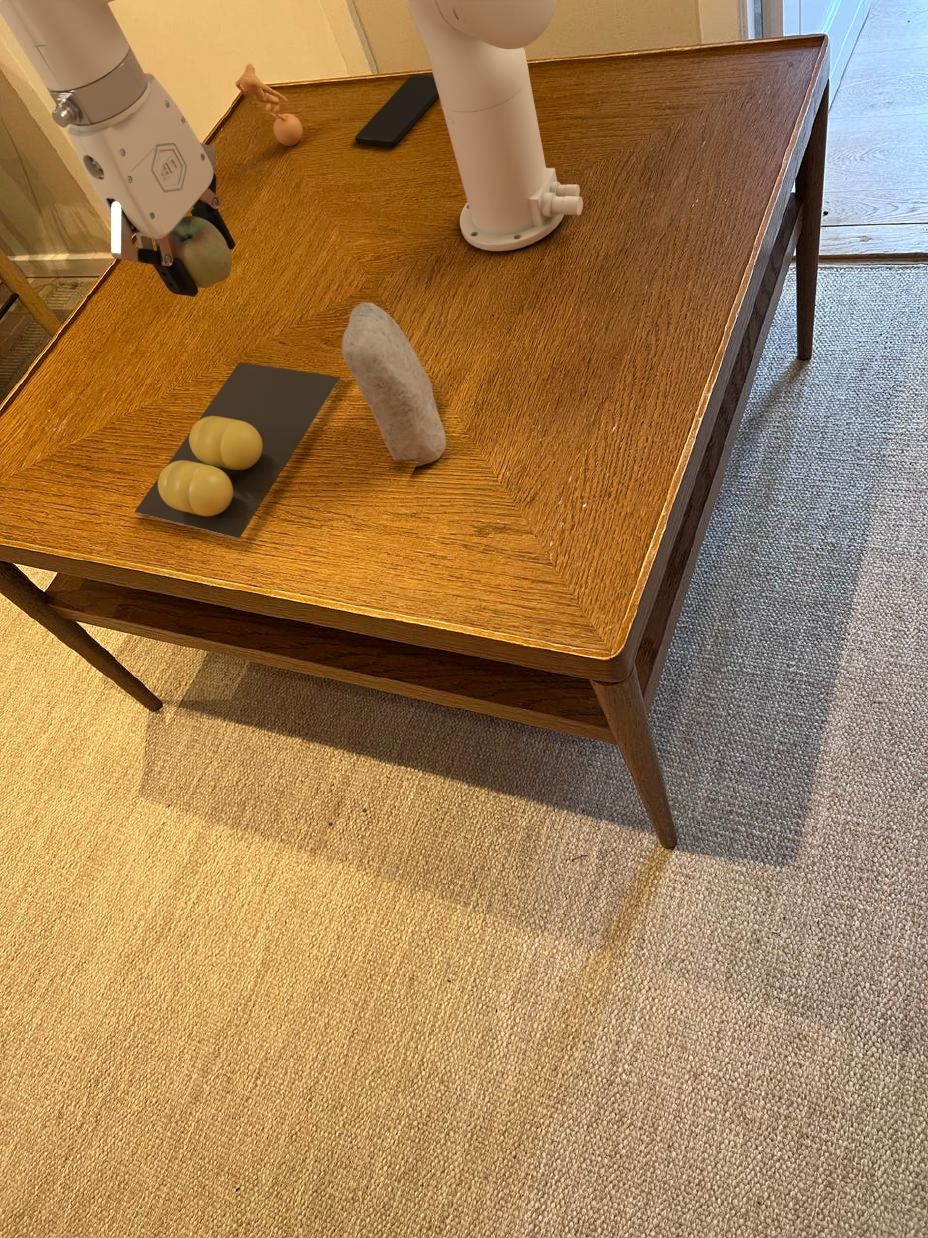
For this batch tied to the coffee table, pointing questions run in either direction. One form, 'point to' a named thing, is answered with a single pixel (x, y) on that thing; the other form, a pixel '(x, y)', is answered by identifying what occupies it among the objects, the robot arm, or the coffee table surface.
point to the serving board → (281, 418)
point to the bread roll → (195, 488)
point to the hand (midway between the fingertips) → (204, 268)
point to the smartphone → (400, 112)
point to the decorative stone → (393, 385)
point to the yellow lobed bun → (225, 443)
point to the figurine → (285, 124)
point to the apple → (201, 251)
